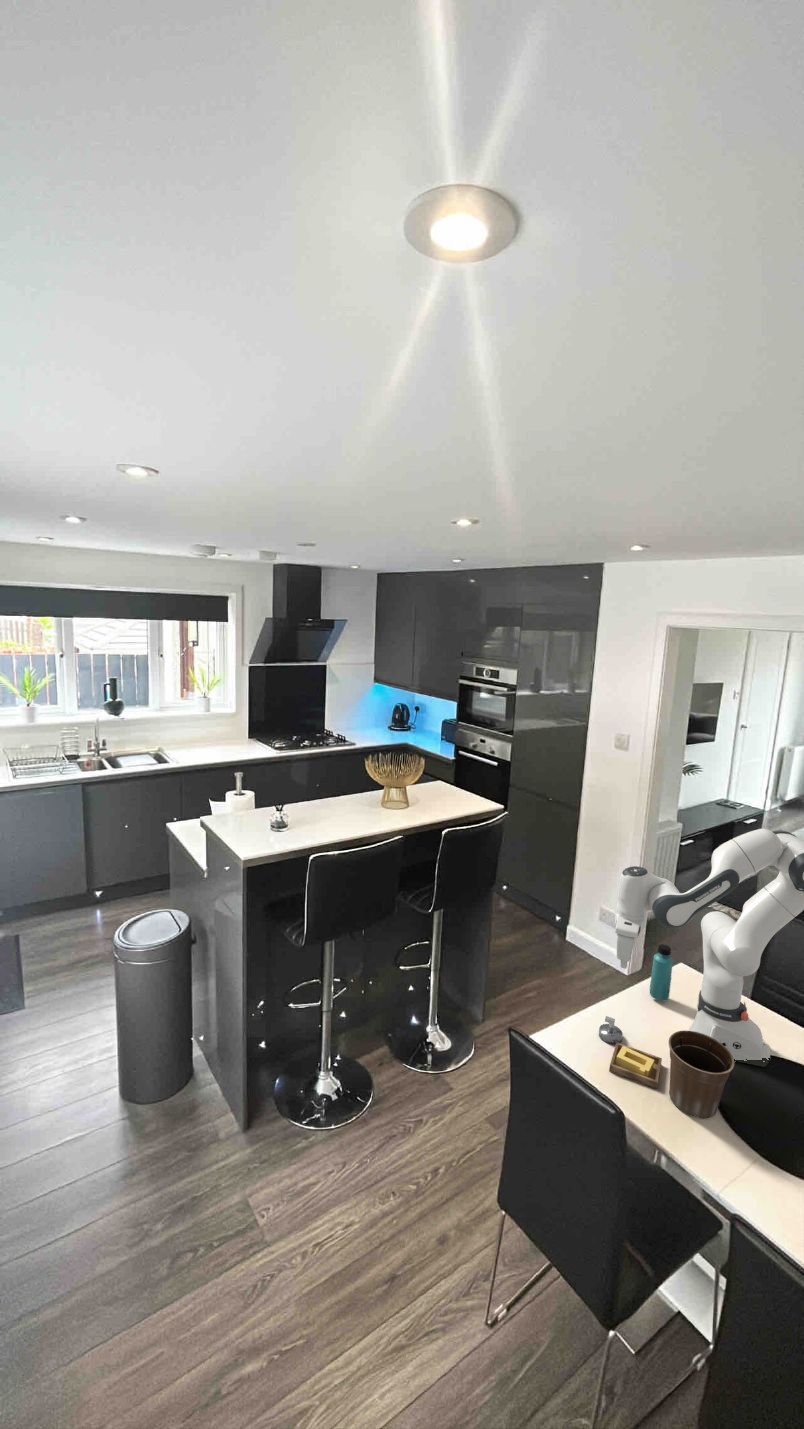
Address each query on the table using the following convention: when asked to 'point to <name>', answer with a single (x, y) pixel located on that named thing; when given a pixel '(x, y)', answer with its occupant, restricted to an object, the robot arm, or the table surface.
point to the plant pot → (698, 1072)
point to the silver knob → (610, 1032)
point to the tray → (623, 1072)
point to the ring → (634, 1061)
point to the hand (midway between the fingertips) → (625, 959)
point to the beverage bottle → (661, 973)
